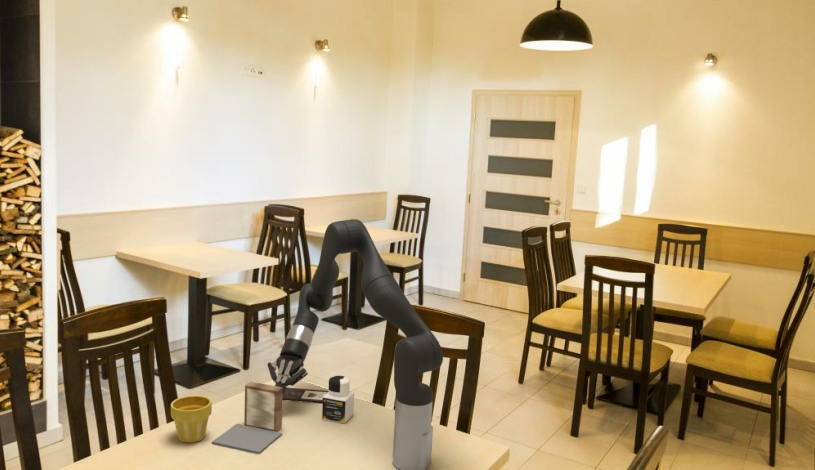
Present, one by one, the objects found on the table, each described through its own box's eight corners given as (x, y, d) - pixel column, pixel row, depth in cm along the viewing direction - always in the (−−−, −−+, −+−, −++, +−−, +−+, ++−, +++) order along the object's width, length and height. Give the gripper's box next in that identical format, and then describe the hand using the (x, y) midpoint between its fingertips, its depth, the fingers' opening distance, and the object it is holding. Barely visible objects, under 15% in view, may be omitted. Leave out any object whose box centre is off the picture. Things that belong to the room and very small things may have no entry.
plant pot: (162, 437, 178) (162, 401, 177) (197, 425, 186) (197, 391, 185) (184, 450, 172) (184, 413, 170) (219, 437, 179) (219, 402, 178)
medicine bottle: (321, 419, 194) (323, 380, 192) (331, 410, 201) (332, 372, 199) (344, 424, 192) (346, 384, 190) (353, 414, 199) (355, 375, 197)
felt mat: (282, 435, 183) (282, 432, 183) (259, 454, 172) (259, 451, 171) (236, 425, 187) (236, 423, 187) (211, 443, 176) (211, 441, 176)
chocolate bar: (279, 386, 215) (334, 391, 214) (279, 389, 216) (334, 394, 214) (271, 397, 207) (329, 402, 205) (271, 400, 207) (329, 405, 205)
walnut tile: (281, 428, 187) (282, 387, 185) (276, 433, 184) (277, 391, 182) (249, 422, 190) (250, 381, 188) (243, 426, 187) (244, 385, 185)
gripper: (273, 334, 202) (251, 387, 192) (313, 340, 198) (293, 394, 188) (282, 346, 207) (260, 398, 198) (321, 352, 203) (301, 406, 194)
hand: (276, 396), depth 193 cm, fingers closed
